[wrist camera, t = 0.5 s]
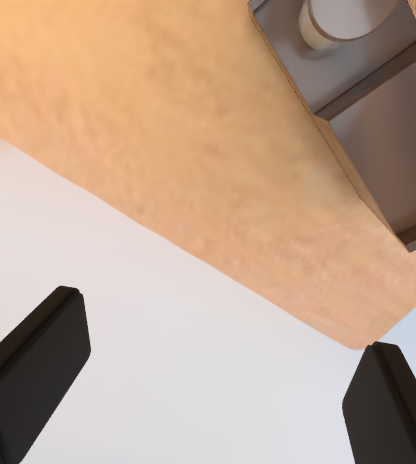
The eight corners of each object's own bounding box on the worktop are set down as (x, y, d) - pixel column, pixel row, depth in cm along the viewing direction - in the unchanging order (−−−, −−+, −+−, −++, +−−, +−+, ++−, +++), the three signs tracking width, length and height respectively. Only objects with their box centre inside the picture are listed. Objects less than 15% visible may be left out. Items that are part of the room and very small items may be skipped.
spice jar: (346, -45, 23) (380, -101, 16) (378, 20, 24) (422, -6, 18) (284, 10, 25) (292, -19, 18) (317, 67, 27) (335, 60, 20)
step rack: (347, -75, 25) (418, -215, 14) (454, 148, 31) (567, 182, 19) (249, 16, 29) (240, -33, 17) (360, 199, 35) (409, 253, 23)
